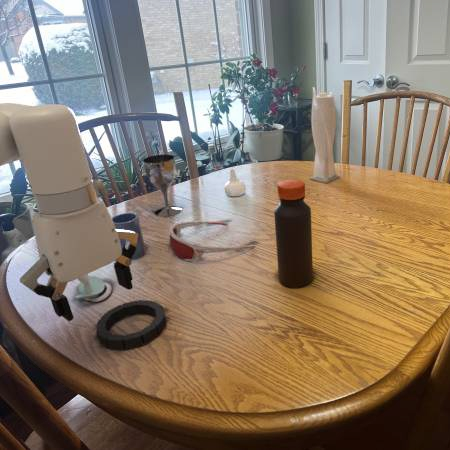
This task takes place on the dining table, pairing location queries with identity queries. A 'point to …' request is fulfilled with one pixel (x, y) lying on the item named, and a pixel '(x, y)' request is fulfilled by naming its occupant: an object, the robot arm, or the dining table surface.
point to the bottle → (293, 235)
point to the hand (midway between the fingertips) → (97, 301)
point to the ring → (131, 339)
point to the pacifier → (92, 288)
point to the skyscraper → (323, 136)
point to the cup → (130, 224)
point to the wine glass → (162, 179)
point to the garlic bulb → (234, 185)
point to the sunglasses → (191, 250)
